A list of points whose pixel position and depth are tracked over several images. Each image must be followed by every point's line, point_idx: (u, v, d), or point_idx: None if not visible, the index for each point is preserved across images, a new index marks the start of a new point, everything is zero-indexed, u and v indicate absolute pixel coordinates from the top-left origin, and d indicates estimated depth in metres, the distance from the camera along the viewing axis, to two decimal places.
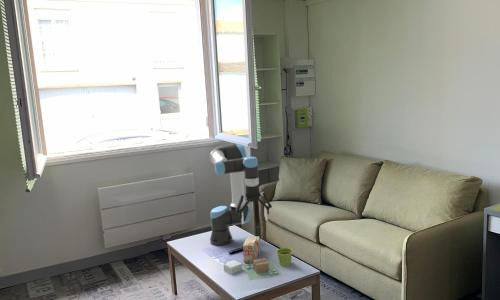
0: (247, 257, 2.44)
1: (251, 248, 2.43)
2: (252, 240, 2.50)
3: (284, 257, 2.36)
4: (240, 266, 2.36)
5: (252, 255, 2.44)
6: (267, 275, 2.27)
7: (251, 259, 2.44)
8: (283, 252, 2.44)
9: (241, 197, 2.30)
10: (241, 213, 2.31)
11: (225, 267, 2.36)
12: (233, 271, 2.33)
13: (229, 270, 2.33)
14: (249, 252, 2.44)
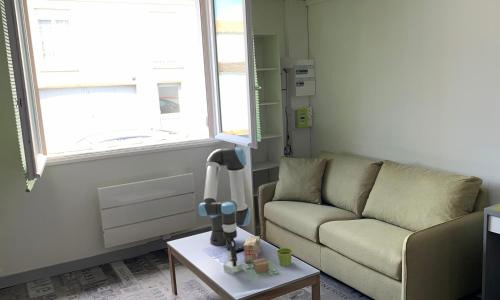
0: (248, 257, 2.45)
1: (252, 248, 2.43)
2: (253, 240, 2.50)
3: (284, 257, 2.36)
4: (240, 266, 2.36)
5: (253, 255, 2.44)
6: (267, 275, 2.27)
7: (252, 259, 2.44)
8: (283, 252, 2.44)
9: None
10: None
11: (225, 267, 2.36)
12: None
13: (230, 270, 2.33)
14: (250, 252, 2.44)
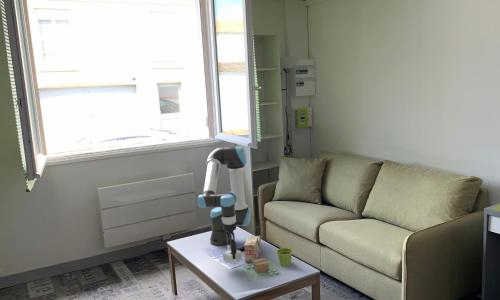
0: (248, 257, 2.45)
1: (252, 248, 2.43)
2: (253, 240, 2.50)
3: (284, 257, 2.36)
4: (240, 254, 2.35)
5: (253, 255, 2.44)
6: (267, 275, 2.27)
7: (252, 259, 2.45)
8: (283, 252, 2.44)
9: None
10: None
11: (225, 256, 2.35)
12: None
13: (229, 258, 2.32)
14: (250, 252, 2.44)
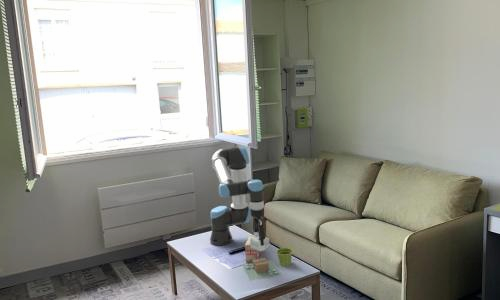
0: (249, 256, 2.45)
1: None
2: None
3: (284, 257, 2.36)
4: (267, 241, 2.31)
5: (254, 254, 2.44)
6: (267, 275, 2.27)
7: (253, 258, 2.45)
8: (283, 252, 2.44)
9: None
10: None
11: (252, 242, 2.31)
12: None
13: (257, 245, 2.28)
14: (251, 251, 2.44)
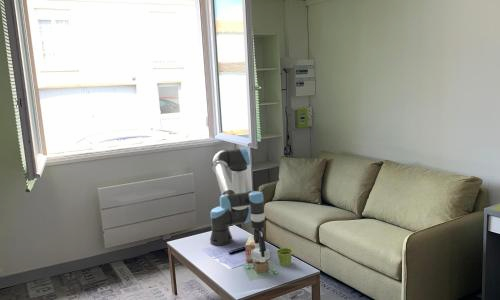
0: (249, 256, 2.45)
1: (253, 247, 2.44)
2: None
3: (284, 257, 2.36)
4: (268, 252, 2.32)
5: None
6: (267, 275, 2.27)
7: None
8: (283, 252, 2.44)
9: (253, 227, 2.37)
10: None
11: (253, 254, 2.32)
12: None
13: (258, 256, 2.29)
14: None
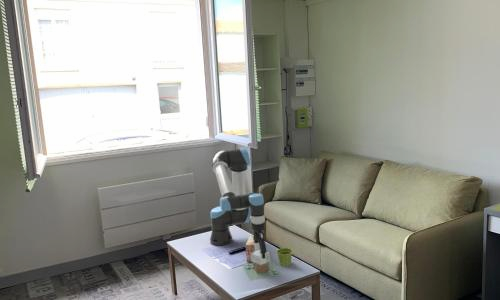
0: (250, 256, 2.45)
1: (254, 247, 2.44)
2: None
3: (284, 257, 2.36)
4: (268, 255, 2.32)
5: None
6: (267, 275, 2.27)
7: None
8: (283, 252, 2.44)
9: None
10: None
11: (253, 256, 2.32)
12: None
13: (258, 259, 2.29)
14: (252, 251, 2.44)
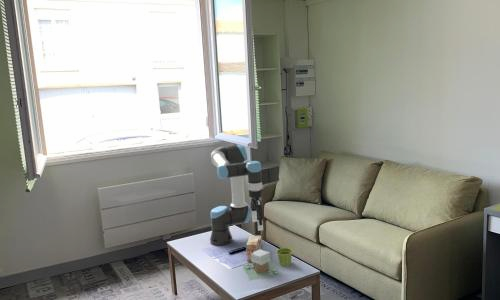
0: (250, 256, 2.45)
1: (254, 247, 2.44)
2: (255, 239, 2.51)
3: (284, 257, 2.36)
4: (268, 255, 2.32)
5: None
6: (267, 275, 2.27)
7: None
8: (283, 252, 2.44)
9: None
10: None
11: (253, 256, 2.32)
12: (262, 260, 2.29)
13: (258, 259, 2.29)
14: (252, 251, 2.45)
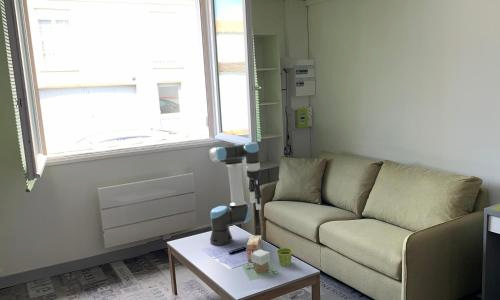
0: None
1: (255, 247, 2.44)
2: (255, 239, 2.51)
3: (284, 257, 2.36)
4: (268, 255, 2.32)
5: None
6: (267, 275, 2.27)
7: None
8: (283, 252, 2.44)
9: (249, 177, 2.45)
10: None
11: (253, 256, 2.32)
12: (262, 260, 2.29)
13: (258, 259, 2.29)
14: (253, 251, 2.45)
